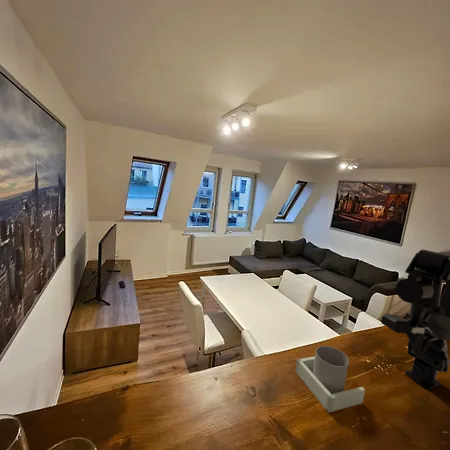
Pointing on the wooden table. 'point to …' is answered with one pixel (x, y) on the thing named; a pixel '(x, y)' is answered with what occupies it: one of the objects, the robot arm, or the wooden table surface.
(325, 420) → the wooden table surface
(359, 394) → the u-shaped wall frame
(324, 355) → the cup
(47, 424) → the wooden table surface
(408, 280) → the robot arm
